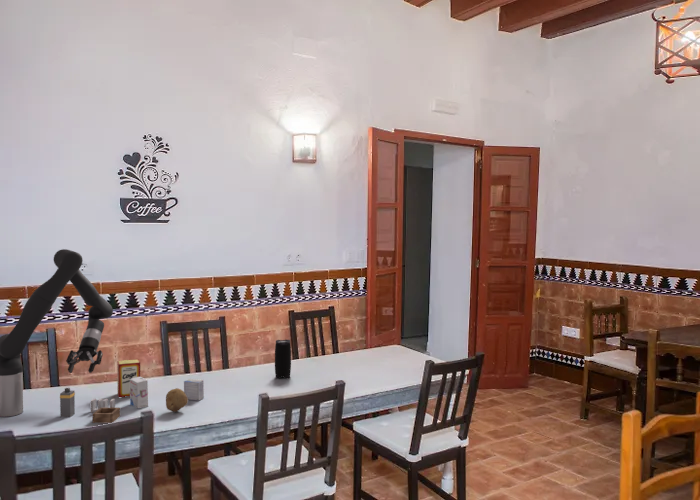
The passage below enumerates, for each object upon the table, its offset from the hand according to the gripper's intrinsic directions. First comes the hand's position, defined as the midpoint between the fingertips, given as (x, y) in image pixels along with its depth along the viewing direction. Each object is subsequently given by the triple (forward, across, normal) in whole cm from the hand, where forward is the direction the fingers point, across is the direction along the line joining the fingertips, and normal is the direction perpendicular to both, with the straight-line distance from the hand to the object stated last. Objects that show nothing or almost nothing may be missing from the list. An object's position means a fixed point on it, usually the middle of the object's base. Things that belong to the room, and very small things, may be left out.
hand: (79, 372), depth 241 cm
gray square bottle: (+19, 0, +2) cm, 19 cm away
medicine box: (+4, +47, +18) cm, 51 cm away
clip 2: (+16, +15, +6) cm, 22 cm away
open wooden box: (+23, +18, -1) cm, 29 cm away
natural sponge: (+16, +44, +6) cm, 47 cm away
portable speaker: (-22, +85, +45) cm, 98 cm away
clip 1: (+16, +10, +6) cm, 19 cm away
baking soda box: (-1, +15, +23) cm, 28 cm away
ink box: (+10, +25, +12) cm, 29 cm away
